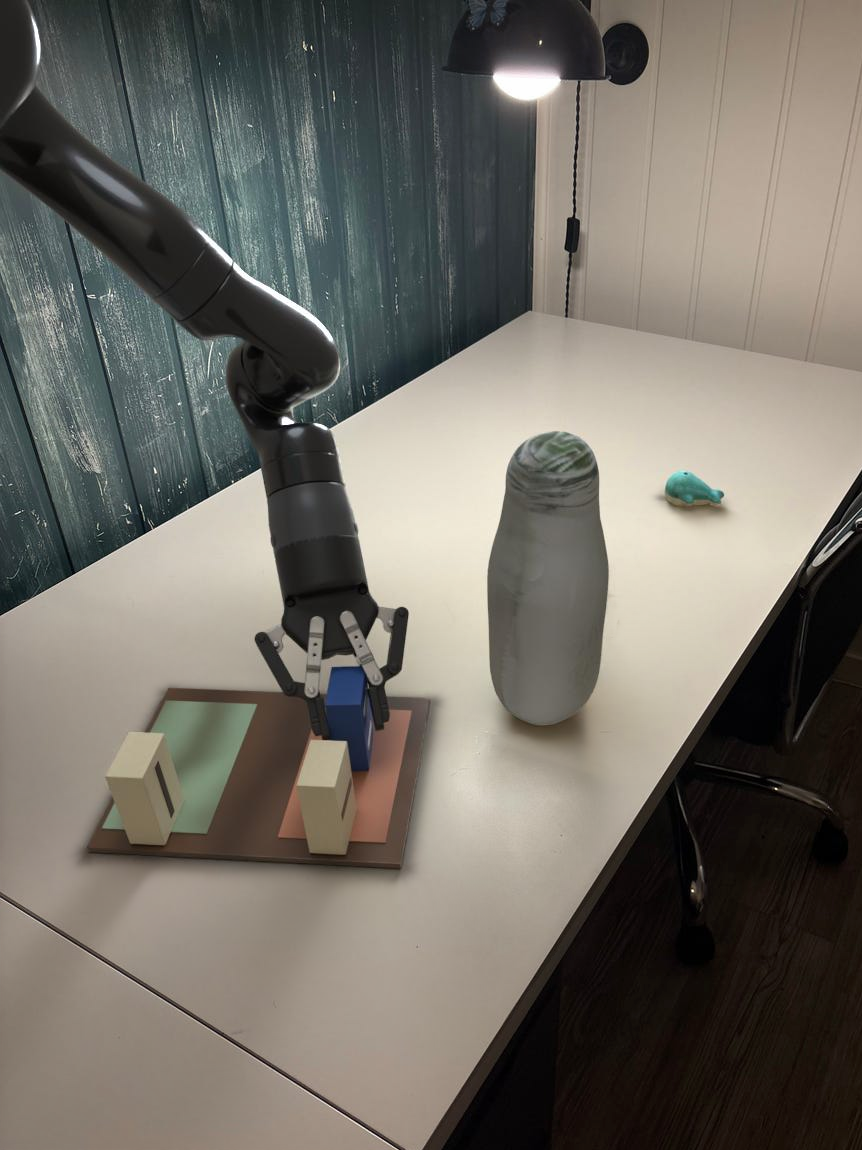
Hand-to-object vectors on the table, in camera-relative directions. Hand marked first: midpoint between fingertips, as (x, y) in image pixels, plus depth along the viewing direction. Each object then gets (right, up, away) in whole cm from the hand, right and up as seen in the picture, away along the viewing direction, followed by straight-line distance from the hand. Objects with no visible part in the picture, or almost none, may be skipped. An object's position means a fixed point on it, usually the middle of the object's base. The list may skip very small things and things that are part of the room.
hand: (353, 734), depth 82 cm
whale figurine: (+38, +26, +39) cm, 61 cm away
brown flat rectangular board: (-8, -4, +3) cm, 9 cm away
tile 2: (-1, -8, -3) cm, 8 cm away
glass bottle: (+17, +2, +10) cm, 20 cm away
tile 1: (-16, -7, -2) cm, 18 cm away
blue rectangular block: (0, -2, +4) cm, 5 cm away
